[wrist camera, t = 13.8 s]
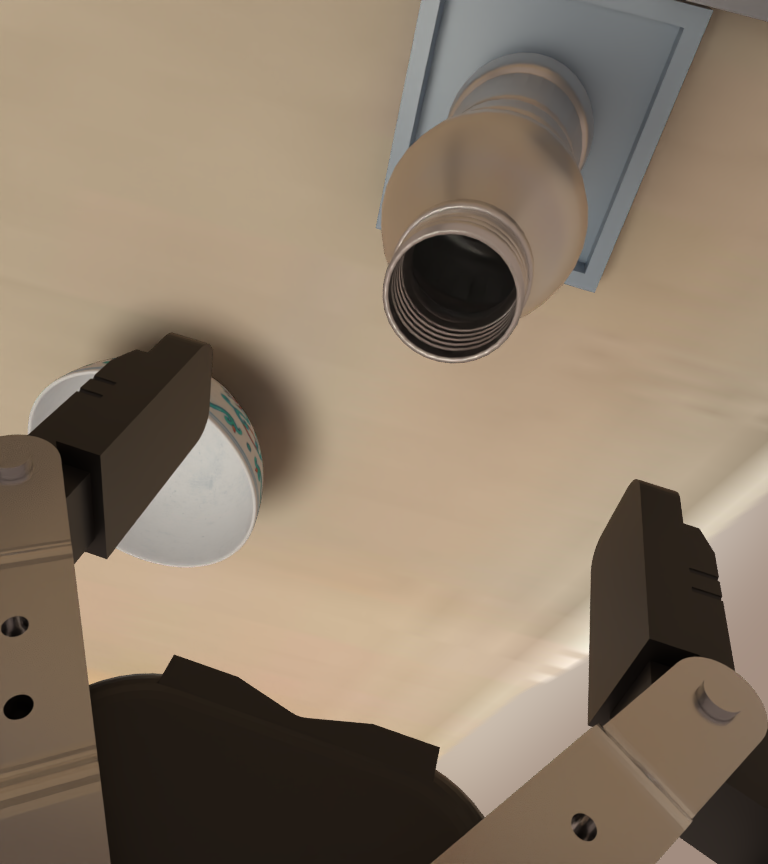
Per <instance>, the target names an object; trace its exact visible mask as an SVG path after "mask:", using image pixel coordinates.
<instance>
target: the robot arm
mask: <svg viewBox="0 0 768 864" xmlns="http://www.w3.org/2000/svg"><path fill="white" fill-rule="evenodd" d="M212 356H213V353H212V347H211V346H210V345H209V344H207V343H203V342H200V341H197V340H194V339H191V338H187V337H184V336H181V335H178V334H175V333H169V334H167V335H166V336H165V337H164V338H163V339H162V340H161V341H160V342H159V343H158V344H157V345H156V346H155V347H154V348H152V349H151V350H150V351H149V352H148V353H146V352H143V351H140V350H134V351H132V352H129V353H127V354H124V355H122V356H119V357H117V358H115V359H112V360H111V361H109V362H108V363H107V364H106V365H105V366H104V367H103V368H102V369H100V370H99V371H98V372H97V373H96V374H95V375H94V378H93V379H91V378H90V379H89V380H88V381H87V382H86V383H85V384H84V385H83V386H82V387H80V390H79V392H78V391H76V392H75V393H74V394H73V395H72V396H70V397H69V398H68V399H67V400H66V401H65V402H64V403H63V404H62V405H60V406H59V407H58V408H57V409H56V410H55V411H54V412H53V413H52V414H50V415H49V416H48V417H47V418H46V419H45V420H44V421H43V422H42V423H40V424H39V425H38V426H37V427H36V428H35V429H34V430H33V431H32V432H30V433H29V434H28V435H6V436H0V864H655V863H656V862H657V861H658V860H659V859H660V858H661V857H662V856H663V855H664V853H665V852H666V851H667V850H668V849H669V848H670V847H671V845H672V844H673V843H674V842H675V841H676V840H677V839H678V838H679V837H680V838H681V839H683V840H684V841H686V842H687V843H689V844H690V845H692V846H693V847H694V848H696V849H697V850H699V851H700V852H701V853H703V854H704V855H706V856H707V857H709V858H710V859H711V860H713V861H714V862H716V863H717V864H768V720H767V714H766V711H765V708H764V705H763V703H762V701H761V699H760V698H759V696H758V695H757V693H756V692H755V690H754V689H753V688H752V687H751V686H750V684H749V683H748V682H747V681H746V680H745V679H743V677H741V676H740V675H739V674H738V673H736V672H735V668H734V662H733V656H732V651H731V645H730V639H729V633H728V628H727V622H726V617H725V611H724V604H723V601H721V598H722V593H721V588H720V582H719V581H718V577H719V576H718V570H717V564H716V558H715V553H714V551H713V550H712V548H711V547H710V545H709V543H708V542H707V540H706V539H705V537H704V535H703V534H702V532H701V531H700V529H699V528H696V527H693V526H690V525H686V524H683V517H682V509H681V502H680V496H679V493H678V492H676V491H673V490H670V489H666V488H663V487H660V486H657V485H654V484H650V483H647V482H644V481H641V480H638V479H635V480H633V481H632V482H631V484H630V485H629V486H628V488H627V490H626V492H625V493H624V495H623V497H622V499H621V501H620V502H619V504H618V506H617V508H616V510H615V511H614V513H613V515H612V517H611V519H610V520H609V522H608V524H607V526H606V528H605V529H604V531H603V533H602V535H601V537H600V539H599V541H598V543H597V546H596V549H595V552H594V556H593V560H592V566H591V597H590V645H589V694H588V696H589V697H588V725H589V726H592V728H591V729H589V730H588V731H587V732H586V733H584V734H583V735H582V736H581V737H580V738H578V739H577V740H576V741H575V742H574V743H572V744H571V745H570V746H569V747H568V748H567V749H565V750H564V751H563V752H562V753H561V754H559V755H558V756H557V757H556V758H555V759H554V760H552V761H551V762H550V763H549V764H548V765H547V766H545V767H544V768H543V769H542V770H541V771H539V772H538V773H537V774H536V775H535V776H533V777H532V778H531V779H530V780H529V781H528V782H526V783H525V784H524V785H523V786H522V787H520V788H519V789H518V790H517V791H516V792H515V793H513V794H512V795H511V796H510V797H509V798H507V799H506V800H505V801H504V802H503V803H502V804H500V805H499V806H498V807H497V808H496V809H494V810H493V811H492V812H491V813H490V814H489V815H487V816H486V817H484V816H483V814H482V813H481V812H480V811H479V810H478V808H477V807H476V806H475V804H474V803H473V802H472V801H471V799H470V798H469V797H468V796H467V795H466V794H465V793H464V792H463V791H462V790H461V789H460V788H459V787H458V786H456V785H455V784H454V783H453V782H452V781H451V780H449V779H448V778H447V777H446V776H444V775H443V774H441V773H440V772H438V771H437V770H436V764H437V759H438V754H439V749H440V747H437V746H434V745H431V744H428V743H425V742H423V741H420V740H417V739H414V738H411V737H408V736H405V735H403V734H400V733H397V732H394V731H391V730H388V729H385V728H383V727H380V726H377V725H374V724H366V723H355V722H344V721H333V720H322V719H312V718H303V717H300V716H297V715H295V714H293V713H291V712H290V711H288V710H287V709H285V708H284V707H282V706H281V705H279V704H278V703H276V702H275V701H273V700H272V699H270V698H269V697H267V696H266V695H264V694H263V693H261V692H260V691H258V690H257V689H255V688H254V687H252V686H251V685H249V684H248V683H246V682H245V681H243V680H242V679H240V678H239V677H237V676H234V675H231V674H228V673H225V672H222V671H219V670H217V669H214V668H211V667H208V666H205V665H202V664H199V663H197V662H194V661H191V660H188V659H185V658H182V657H179V656H176V655H174V656H173V658H172V659H171V661H170V663H169V665H168V666H167V668H166V670H165V671H164V673H163V674H154V673H152V674H132V675H125V676H118V677H114V678H110V679H106V680H102V681H99V682H96V683H93V684H91V685H89V683H88V675H87V666H86V658H85V650H84V642H83V633H82V625H81V617H80V609H79V600H78V592H77V584H76V576H75V567H74V564H75V563H76V561H77V560H78V559H79V558H80V557H81V555H82V554H83V553H84V552H88V553H91V554H93V555H96V556H99V557H102V558H105V559H107V558H108V557H109V556H110V555H111V553H112V552H113V551H114V549H115V548H116V547H117V546H118V544H119V543H120V542H121V540H122V539H123V538H124V537H125V535H126V534H127V533H128V531H129V530H130V529H131V527H132V526H133V525H134V524H135V522H136V521H137V520H138V518H139V517H140V516H141V515H142V513H143V512H144V511H145V509H146V508H147V507H148V506H149V504H150V503H151V502H152V500H153V499H154V498H155V496H156V495H157V494H158V493H159V491H160V490H161V489H162V487H163V486H164V485H165V484H166V482H167V481H168V480H169V478H170V477H171V476H172V475H173V473H174V472H175V471H176V469H177V468H178V467H179V465H180V464H181V463H182V462H183V460H184V459H185V458H186V456H187V455H188V454H189V453H190V451H191V450H192V449H193V447H194V446H195V445H196V444H197V442H198V441H199V439H200V438H201V436H202V434H203V432H204V429H205V426H206V424H207V420H208V416H209V409H210V392H211V374H212Z"/></svg>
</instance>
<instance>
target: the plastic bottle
mask: <svg viewBox="0 0 768 864" xmlns="http://www.w3.org/2000/svg"><path fill="white" fill-rule="evenodd" d="M593 122H594V119H593V113H592V108H591V103H590V100H589V98H588V95H587V93H586V90H585V88H584V87H583V85H582V84H581V82H580V81H579V79H578V78H577V76H576V75H575V74H574V73H573V72H572V71H571V70H569V69H568V68H567V67H566V66H565V65H564V64H562V63H560V62H558V61H557V60H555V59H553V58H551V57H548V56H545V55H541V54H538V53H524V52H521V53H515V54H508V55H505V56H502V57H500V58H497V59H494V60H492V61H490V62H489V63H487V64H486V65H484V66H482V67H481V68H479V69H478V70H477V71H476V72H475V73H474V74H473V75H472V76H471V77H470V78H469V79H468V80H466V82H465V83H464V85H463V86H462V87H461V89H460V90H459V92H458V93H457V95H456V97H455V99H454V101H453V103H452V105H451V107H450V111H449V114H448V118H447V119H446V120H444V121H443V122H441V123H440V124H438V125H436V126H435V127H433V128H432V129H430V130H429V131H427V132H426V133H425V134H423V135H422V136H421V137H420V138H419V139H418V140H417V141H416V142H415V143H414V144H413V145H411V146H410V147H409V148H408V149H407V151H406V152H405V153H404V155H403V156H402V158H401V159H400V161H399V162H398V163H397V165H396V166H395V168H394V170H393V173H392V175H391V177H390V179H389V182H388V184H387V186H386V191H385V195H384V199H383V203H382V216H381V231H382V240H383V247H384V254H385V257H386V260H387V262H388V267H387V271H386V275H385V279H384V284H383V303H384V310H385V313H386V315H387V318H388V321H389V323H390V325H391V327H392V328H393V330H394V332H395V333H396V335H397V336H398V337H399V338H400V339H401V340H402V341H403V343H404V344H406V345H407V346H408V347H409V348H411V349H412V350H413V351H415V352H416V353H418V354H420V355H422V356H424V357H426V358H429V359H432V360H435V361H438V362H445V363H465V362H469V361H474V360H477V359H479V358H482V357H484V356H486V355H489V354H490V353H491V352H493V351H494V350H496V349H497V348H499V347H500V346H501V345H502V344H503V343H504V342H505V341H506V340H507V339H508V337H509V336H510V335H511V333H512V332H513V330H514V328H515V327H516V325H517V324H518V321H519V319H520V318H521V317H524V316H526V315H528V314H529V313H531V312H532V311H533V310H535V309H536V308H538V307H539V306H541V305H542V304H543V303H544V302H546V301H547V300H548V299H549V298H550V297H551V296H552V295H553V294H554V293H555V292H556V291H557V290H558V289H559V288H560V287H561V286H562V285H563V284H564V282H565V281H566V279H567V278H568V277H569V275H570V274H571V272H572V271H573V269H574V268H575V266H576V263H577V261H578V259H579V256H580V254H581V252H582V249H583V246H584V242H585V237H586V232H587V228H588V203H587V198H586V192H585V187H584V182H583V177H582V174H581V170H582V169H583V167H584V165H585V162H586V160H587V157H588V155H589V152H590V149H591V144H592V139H593Z"/></svg>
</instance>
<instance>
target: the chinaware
mask: <svg viewBox="0 0 768 864" xmlns="http://www.w3.org/2000/svg"><path fill="white" fill-rule="evenodd" d="M112 359H115V358H112ZM112 359H107V360H103V361H99V362H96V363H92V364H89V365H86V366H84V367H81V368H79V369H76V370H74V371H72V372H70V373H68V374H66V375H64V376H62V377H60V378H58V379H57V380H55V381H54V382H52V383H51V384H50V385H48V386H47V387H46V388H45V389H44V390H43V391H42V392H41V393H40V395H39V396H38V397H37V399H36V401H35V402H34V405H33V407H32V409H31V412H30V416H29V422H28V434H29V433H30V432H32V431H33V430H34V429H35V428H36V427H37V426H38V425H39V424H40V423H42V422H43V421H44V420H45V419H46V418H47V417H48V416H49V415H50V414H52V413H53V412H54V411H55V410H56V409H57V408H58V407H59V406H60V405H62V404H63V403H64V402H65V401H66V400H67V399H68V398H69V397H70V396H72V395H73V394H74V393H75V392H76V391H78V392H79V390H80V387H82V386H83V385H84V384H85V383H86V382H87V381H88V380H89V379H90V378H91V379H93V378H94V375H95V374H96V373H97V372H98V371H99V370H100V369H102V368H103V367H104V366H105V365H106V364H107V363H108V362H109V361H111V360H112ZM262 490H263V462H262V455H261V450H260V446H259V442H258V439H257V436H256V434H255V431H254V429H253V427H252V425H251V423H250V421H249V419H248V417H247V415H246V414H245V412H244V411H243V409H242V408H241V406H240V405H239V404H238V403H237V401H236V400H235V399H234V398H233V396H232V395H231V394H230V392H229V391H228V390H227V389H226V388H225V387H224V386H223V385H222V384H220V383H219V382H218V381H217V380H215V379H214V378H212V377H211V392H210V409H209V416H208V420H207V424H206V426H205V429H204V432H203V434H202V436H201V438H200V439H199V441H198V442H197V444H196V445H195V446H194V447H193V449H192V450H191V451H190V453H189V454H188V455H187V456H186V458H185V459H184V460H183V462H182V463H181V464H180V465H179V467H178V468H177V469H176V471H175V472H174V473H173V475H172V476H171V477H170V478H169V480H168V481H167V482H166V484H165V485H164V486H163V487H162V489H161V490H160V491H159V493H158V494H157V495H156V496H155V498H154V499H153V500H152V502H151V503H150V504H149V506H148V507H147V508H146V509H145V511H144V512H143V513H142V515H141V516H140V517H139V518H138V520H137V521H136V522H135V524H134V525H133V526H132V527H131V529H130V530H129V531H128V533H127V534H126V535H125V537H124V538H123V539H122V540H121V542H120V543H119V544H118V546H117V547H116V549H118V550H120V551H122V552H125V553H127V554H129V555H131V556H134V557H136V558H139V559H142V560H145V561H148V562H152V563H156V564H160V565H166V566H173V567H200V566H206V565H210V564H214V563H217V562H220V561H222V560H224V559H226V558H228V557H230V556H231V555H233V554H234V553H235V552H237V551H238V550H239V549H240V548H241V547H242V546H243V545H244V544H245V542H246V541H247V539H248V538H249V536H250V534H251V532H252V530H253V528H254V525H255V522H256V519H257V516H258V512H259V508H260V503H261V498H262Z"/></svg>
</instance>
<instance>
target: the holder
mask: <svg viewBox="0 0 768 864" xmlns="http://www.w3.org/2000/svg"><path fill="white" fill-rule="evenodd" d="M686 1H690V2H694V3H698V4H702V5H705V6H709V7H713V8H717V9H721V10H725V11H728V12H732V13H736V14H740V15H744V16H748V17H751V18H755V19H759V20H763V21H767V22H768V0H686Z"/></svg>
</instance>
